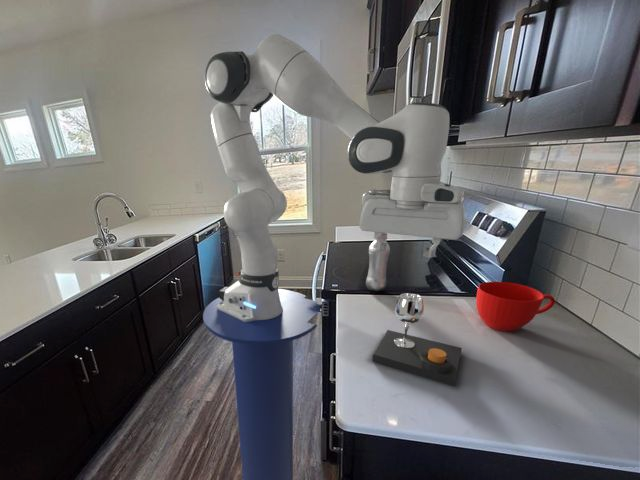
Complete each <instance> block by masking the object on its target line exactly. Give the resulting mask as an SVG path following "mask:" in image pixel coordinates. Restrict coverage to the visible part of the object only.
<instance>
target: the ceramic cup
mask: <svg viewBox="0 0 640 480" xmlns="http://www.w3.org/2000/svg"><path fill="white" fill-rule="evenodd" d="M475 298H476V299H475V305H476V310H477V313H478V315H479V317H480V319H481V320H482V321H483V322H484V324H485V326H487V327H489V328H491V329H493V330H496V331H502V332H515V331H516V330H518V329H522V328H523V327H524V326H526V325H528V324H529V323H530V322H532V320H534V318H535V317H536V315H540V314H542V313H545V312H547V311H548V310H551V309H552V308H553V307H554V305H555V303H556V299H555V297H554V296H552V295H550V294H543V293H542V292H541V291H539V290H538V289H535V288H533V287H530V286H527V285H523V284H520V283H513V282H508V281H507V282H506V281H486V282H481V283H480V284H479V285H478V287H477V291H476V297H475ZM544 299H549V301H548V303H547V304H545V305H544V306H543V307H542V304H543V301H544Z"/></svg>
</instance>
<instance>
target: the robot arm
mask: <svg viewBox="0 0 640 480" xmlns="http://www.w3.org/2000/svg"><path fill="white" fill-rule="evenodd" d="M204 84H205V89H206V90H207V93H208V95H209V96H210V97H211V98H212V99H213V100H215V101H217V103H216V104H215V105H214V106H213V107H212V110H211V113H210V120H211V127H212V132H213V137H214V141H215V145H216V147H217V151H218V154H219V157H220V160H221V162H222V166H223V169H224V172H225V174H226V176H227V178H228V179H229V180H231V181H232V182H233V183H234V184H235V185H236V186H237V188H238V189H239V191H240V192H238V193H236V194H235V195H233V196H232V197H230V198H229V199H227V201H226V202H225V204H224V206H223V212H222V213H223V219H224V222H225V224H226V225H227V227H229V229H230V230H232V231H233V232H234V234H235V236H236V239H237V241H238V244H239V248H240V249H239V250H240V256H241V257H240V258H241V269H240V270H239V271H238V272H235V277H238V276H239V277H238V280H237V281H235V282H234V283H232V284H231V285H230V286H224V287H223V288H221V289H219V290H218V295H219V297H220V299H222V301H221V302H220V303H219V304H218V309H219V310H221V311H223V312H225V313H227V314H229V315H231V316H233V317H235V318H237V319H240V320H242V321H244V322H250V321H254V320H267V319H272V318H275V317H277V316H279V315H280V314H281V313H282V311H283V308H282V305H281V302H280V297H279V291H278V289H279V283H280V279H279V278H280V275H279V274H280V273H279V268H278V247H277V244H276V243H275V242H274V241H273V239H272V237H271V233H270V230H269V225H270V224H272V223H275V222H276V221H278V220H279V219H280V218H281V217H282V216H283V215H284V214H285V212H286V210H287V208H288V207H287V206H288V201H287V197H286V195H285V193H284V192H283V191H282V190H280V189H279V187H278V186H277V185H276V183H275V181H274V179H273V178H272V175H270V172H269V171H268V169H267V167H266V165H265V163H264V160H263V157H262V154H261V152H260V151H261V150H260V148H259V145H258V142H257V139H256V135H255V132H254V129H253V126H252V122H251V114H252V113H257V112H259V111H260V110H261V109H262V107H263V106H264V105H265V104H267V103H268V102H269V101H270V100H271V99H272V98H273V97H274V98H275V99H277V101H279V102H280V103H281V104H282V105H283V106H285V107H286V108H288V109H289V110H291V111H292V112H294V113H296V114H298V115H300V116H302V117H303V116H304V117H308V118H313V119H317V120H320V121H323V122H326V123H328V124H331V125H333V126H334V127H336V128H337V129H338V130H340V132H342V133H343V134H344V135H345V136H347V137H348V138H349V139H350V142H349V145H348V148H347V158H348V163H349V165H350V166H351V168H352V169H353V170H354V171H356V172H358V173H360V174H364V175H377V174H389V173H392V177H391V184H390V185H391V186H390V189H369V191H366V192H364V193H363V195H362V198H361V207H362V210H361V213H360V218H359V225H358V226H359V228H360V230H361V231H363V232H369V233H370V232H372V233H374V235H373V239H374V238H375V239H374V241H375V240H376V242H377V244H378V251H380V252H385V251H386V246H387V243H388V242H387V243H383V241H382V238H381V236H382V235H383V233H387V234H391V235H402V236H411V237H420V238H421V237H422V238H430V239H431V238H432V240H431V243H433V244H432V245H431V246H430V247H425V248H424V250H423V255H422V257H423V258H426V259H431V258H432V256H433V252H434V250H435V249H436V248H437V247H438V246H439V245H440V244H441V242H442V239H443V240H451V241H456V240H459V239H460V238H462V237H463V235H464V231H465V226H466V225H465V224H466V206H465V204H464V202H462V200H463V198H464V196H465V190H464V189H463V188H461V187H459V186H455V185H452V184H449V183H446V182H442V181H441V177H442V161H443V159H444V156H445V154H446V151H447V147H448V141H449V132H450V123H451V122H450V121H451V120H450V112H449V111H448V109H447V108H446V107H445V106H443V105H441V104H439V103H433V102H421V101H418V102H411V103H408V104H406V105H405V106H404V107H403V108H402V109H401V110H399V111H398V112H396V113H395V114H392V115H391V116H390V117H388V118H386V119H384V120H382V121H379V120H377V119H376V118H375V117H374V116H372V115H371V114H369V113H368V112H367V111H366V110H365V109H363V108H362V107H361V106H359V104H357V103H356V102H355V101H354V100H353V99H352V98H350V97H349V96H348V95H347V93H345V91H344V90H343V89H342V88H341V87H340V85H339V84H338V83H337V82H336V81H335V80H334V77H332V76H331V74H330V73H329V72H328V71H327V70H326V68H325V67H324V66H323V65H322V64H321V63H320V61H318V60H317V59H316V58H315V57H314V56H313V54H312V53H310V52H309V51H308V50H306V49H305V48H304V47H302V46H300V45H299V44H298V43H296V42H295V41H293V40H292V39H289V38H288V37H286V36H284V35H281V34H279V33H273V34H269V35H267V36H265V38H263V39H262V40H261V41H260V43H259V44H258V45H257V48H256V49H255V51H254V52H253V53H252V54H246V53H245V52H244V51H243V50H242V51H240V50H239V51H223V52H219V53H215V54H214V55H213V56H212V57H211V58H210V59H209V60H208V62H207V64H206V67H205V71H204Z"/></svg>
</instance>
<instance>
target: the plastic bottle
mask: <svg viewBox="0 0 640 480" xmlns="http://www.w3.org/2000/svg"><path fill="white" fill-rule="evenodd" d="M381 238H382V241H383V243H387V246H386V251H385V252H380V251H378V244H377V242H376V240H375V238H374V237H373V239H374V241H372V243H370V245H369V247H368V257H369V260H368V270H367V271H368V272H367V276H366V278H365V279H366V280H365V286H366V288H367V290H369V291H372V292H383V291H384V290H386V288H387V285H388V281H387V280H388V279H387V267H388V266H387V265H388V260H389V257H390V253H391V246H390V245H389V243H388V242H387V240H388V233H383V235H382V236H381Z"/></svg>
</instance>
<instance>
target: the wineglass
mask: <svg viewBox="0 0 640 480" xmlns="http://www.w3.org/2000/svg"><path fill="white" fill-rule="evenodd" d="M424 312H425V304H424V297H423V296H422V295H420V294H417V293H411V292H405V293H401V294H399V296H398V299H397V301H396V303H395V309H394V314H395V316H396V318H397V319H398V320H399V322H402V323H404V333H403V334H404V338H396V339H395V340H394V343H395V344H396V345H398V346H400V347H403V348H412V347H414V346H415V343H414V342H413V341H412V340H410V339H407V338H406V335H408V331H409V328H410V324H413V325H414V324H416V323H418V322H420V321H421V320H422V318H423V316H424Z"/></svg>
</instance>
